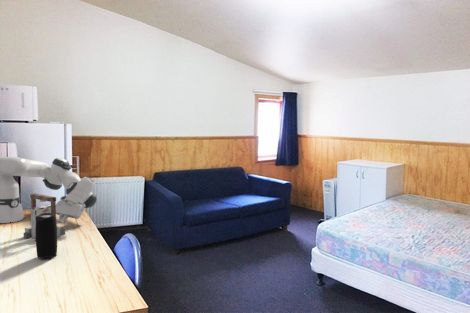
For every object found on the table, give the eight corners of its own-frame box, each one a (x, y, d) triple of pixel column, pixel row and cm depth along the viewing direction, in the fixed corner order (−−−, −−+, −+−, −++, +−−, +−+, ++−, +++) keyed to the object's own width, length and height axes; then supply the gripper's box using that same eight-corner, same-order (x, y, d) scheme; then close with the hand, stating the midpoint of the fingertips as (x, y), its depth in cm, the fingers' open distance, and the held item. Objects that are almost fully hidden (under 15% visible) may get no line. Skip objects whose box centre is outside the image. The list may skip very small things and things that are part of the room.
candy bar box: (50, 233, 197) (50, 203, 196) (56, 234, 195) (55, 204, 194) (30, 238, 188) (29, 207, 186) (36, 240, 185) (35, 209, 184)
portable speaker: (37, 262, 157) (35, 218, 155) (35, 255, 165) (34, 213, 163) (58, 258, 161) (57, 216, 160) (56, 252, 169) (55, 211, 168)
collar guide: (22, 238, 188) (21, 228, 188) (50, 230, 202) (50, 221, 202) (38, 242, 182) (38, 233, 181) (66, 234, 196) (66, 225, 195)
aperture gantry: (31, 234, 195) (29, 194, 193) (36, 233, 197) (34, 193, 195) (52, 240, 186) (51, 198, 184) (57, 238, 189) (56, 197, 187)
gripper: (90, 206, 204) (75, 228, 196) (66, 202, 213) (51, 222, 206) (83, 200, 199) (68, 222, 192) (59, 196, 209) (44, 216, 201)
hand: (59, 222), depth 199 cm, fingers closed
